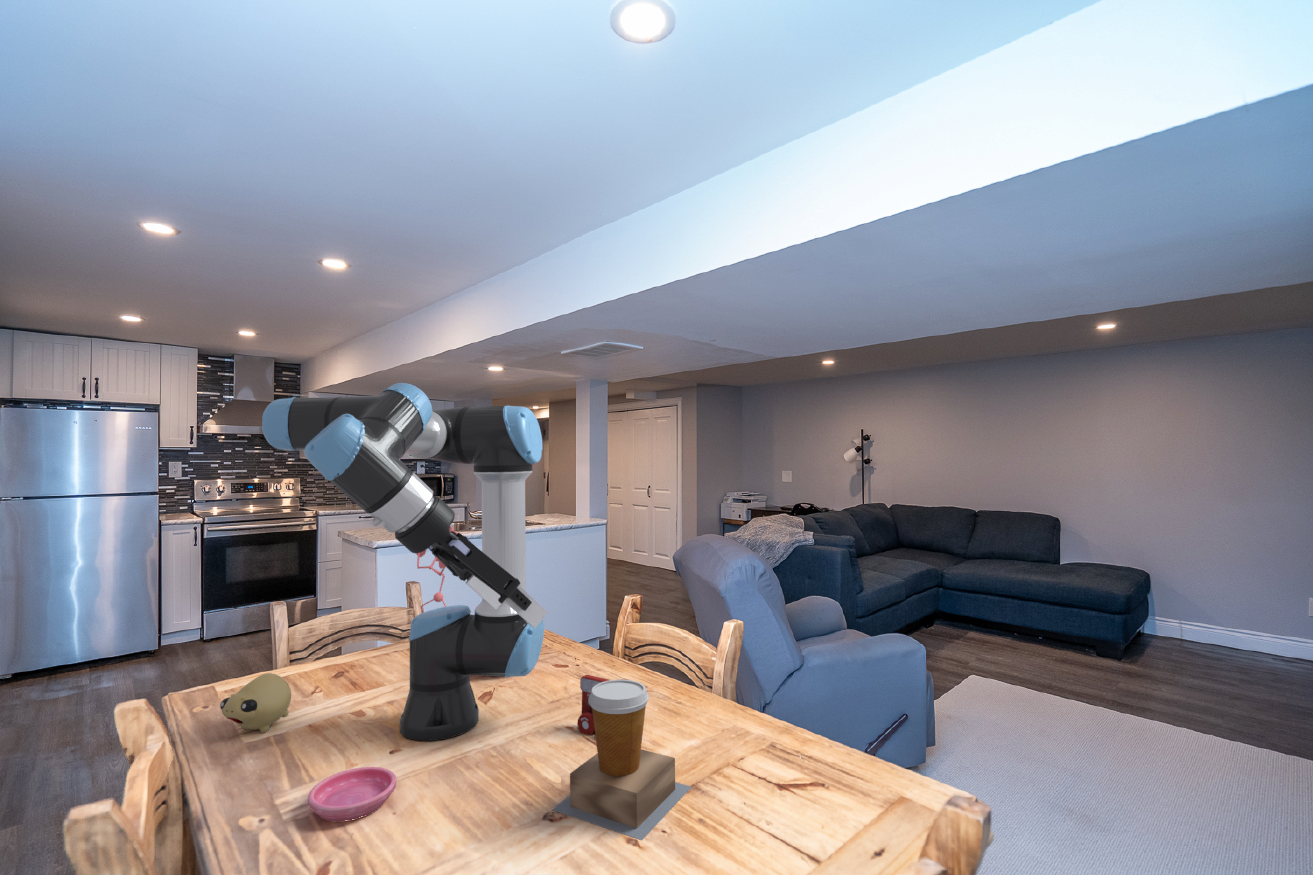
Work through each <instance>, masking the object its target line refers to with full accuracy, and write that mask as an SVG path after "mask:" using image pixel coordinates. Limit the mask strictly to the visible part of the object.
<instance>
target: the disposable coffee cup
mask: <svg viewBox="0 0 1313 875" xmlns="http://www.w3.org/2000/svg"><path fill="white" fill-rule="evenodd" d="M608 680H609V681H605V682H601V683H599V684H597V685H595V686H594V687H593V688H592V691H591V695H590V696H589V702H590V705H591V707H592V712H593V720H594V728H595V732H594V734H595V742H596V750H597V753H598V760H599V768H600V770H601V771H602V772H603V773H605V774H608V775H612V776H624V775H628V774H631V773H633V772H635V771H636V770H637V769H638V768H639V763H640V753H641V749H642V743H643V733H644V726H645V717H646V716H645V715H646V707H647V704H648V701H649V697H650V695H649V693H648V692H647V689H646V686H645V685H644V683H641V682H639V681H636V680H631V679H608Z"/></svg>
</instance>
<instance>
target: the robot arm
mask: <svg viewBox="0 0 1313 875" xmlns="http://www.w3.org/2000/svg"><path fill="white" fill-rule="evenodd" d="M261 420H262V421H261V424H262V426H261V431H262V434H263V436H264V438H265V440H266V441H267V443H268V444H269V445H270V446H272V448H275V449H277V450H282V451H283V450H284V451H293V452H299V451H303V454H304V456H305V458H306V460H307V461H308V462H309V463H310V464H311V465H312V466H313V467H314V468H315V469H316V470H317V471H318V472H319V473H320V474H321V475H322V476H323V478H325V479H326V481H329V482H330V483H331V484H332V485H334V486H335V487H336V488H337V489H338V490H340V491H341V492H342V493H343V494H344V495H345V496H347V498H349V499H350V500H351V501H353V503H355V504H356V505H357V506H358V507H360V508H361V509H362V510H363V511H364V512H366V513H367V514H368V515H369V516H370V517H374V518H373V519H372V520H371V525H372V526H374V527H377V526H379V525H381V527H383V528H384V529H385V530H386V531H388V533H391V534H394V537H395V539H396V541H398V542H399V543H400V544H401V545H403V546H404V547H405V548H406V549H407V550H408V551H409V552H410V553H412V554H416V553H420V552H423V551H425V550H426V551H427V550H429V551H430V552H431V553H432V555H433V556H434V558H435V557H437V558H438V559H439V560H440V561H441V562H442V563H443V564H444V565H445V566H446V567H445V568H447V569H448V571H450V572H451V575H453V576H454V577H457V578H459V580H460V581H463V582H465V584H466V585H467V586H468V587H469V588H470V589H471V590H473V591H474V592H475V593H476V594H477V595H478V596H479V597H480V598H481V599H482V601H481V602H480V603H479V604H478V605H477V606H476V607H475V608H474V614H471V613H472V610H471V609H470V606H468V605H463V604H461V605H460V604H458V605H457V604H456V605H449V606H448V605H447V606H446V607H445V606H443V607H439V608H434V609H431V610H427V611H423V613H422V612H420V613H419V614H417V615H416V616H415V617H413V618H412V620H411V622H410V626H409V638H408V641H409V689H408V690H409V691H408V695H407V698H406V701H405V705H404V708H403V712H402V713H401V716H400V721H399V731H400V734H401V735H402V736H403V737H404V738H407V739H409V740H414V741H422V742H423V741H426V742H427V741H428V742H429V741H439V740H445V739H449V738H454V737H457V736H459V735H462V734H464V733H466V732H468V731H471V730H472V729H473V728H474V727H475V726H477V724H478V722H479V718H480V716H479V713H480V712H479V705H478V704H477V701H476V697H475V694H474V690H473V688H472V685H471V677H470V676H488V677H489V676H490V677H503V678H507V679H508V678H510V677H512V678H513V677H525V676H528V675H529V674H530V673H532V671H533V670H534V669H535V667H536V665H537V663H538V661H539V658H540V655H541V651H542V648H543V644H544V638H545V637H544V636H545V624H544V620H543V619H544V618H545V617H546V615H547V614H548V610H546V609H545V608H544V607H543V606H542V605H541V604H540V603H539V602H538V601H536V599H535V598H534V597H532V596H531V594H529V593H528V592H527V567H526V566H527V564H526V562H527V561H526V560H527V557H526V550H527V549H526V548H527V547H526V543H527V541H526V538H527V537H526V480H527V478H528V477H530V475H532V473H533V465H536V464H537V463H540V461H541V459H542V452H543V437H542V436H543V435H542V432H541V431H542V430H541V428H540V424H539V421H538V419H537V417H536V416H535V414H534V413H533V411H532V410H531V409H530V408H528V407H526V406H518V405H510V404H509V405H499V406H498V405H497V406H495V405H493V406H472V407H471V406H470V407H469V406H460V407H448V408H441V409H440V408H439V409H433V406H432V403H431V401H430V398H429V397H428V395H426V393H425V392H424V391H423V390H422V389H420V388H419V387H417V386H415V385H413V384H410V383H407V382H397V383H394V384H392V385H390V386H389V387H386V388H385V389H384V390H383V391H381V393H380V394H379V395H359V396H358V395H356V396H353V395H352V396H337V397H333V396H332V397H329V396H328V397H327V396H326V397H297V396H292V397H289V398H279V399H278V398H277V399H275V400H273V401H271V402H270V403H269V404H268V405H267V406H266V408H265V409H264V411H263V412H262V417H261ZM405 454H408V455H409V456H411V457H413V458H416V459H421V460H432V461H439V462H446V463H452V464H462V465H473V475H475V476H476V477H477V478H478V480H480V482H481V549H480V548H478V547H477V545H474V543H472V541H470V540H469V539H468V537H467V536H465V535H463V534H462V533H460V532H457V534H456V533H455V532H453V531H454V530H453V531H451V532H450V531H449V529H450V526H452V524H453V522H454V520H455V517H456V515H455V512H454V510H453V508H451V507H450V506H449V505H448V504H447V503H445V501H443V500H442V499H441V497H440V496H435V495H434V490H433V489H431V488H430V487H429V486H428V485H427V483H425V482H424V481H423V480H422V479H421V478H420V477H419V476H418V475H417V474H416V473H415V472H414V471H413V470H411V469H410V468H409V467H408V466H407V465H406V464H405V463H404V462H403V461H402V460H401V459H402V458H403V456H404V455H405Z"/></svg>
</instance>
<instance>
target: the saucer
mask: <svg viewBox="0 0 1313 875" xmlns="http://www.w3.org/2000/svg"><path fill="white" fill-rule="evenodd" d="M396 787H397V775H396V774H395V773H394V772H393V771H391V770H390V769H388V768H384V767H378V766H365V767H364V766H363V767H356V768H350V769H346V770H343V771H342V770H341V771H340V772H336V773H335V774H332V775H330V776H328V777H326V778H324V779H323V780H321V781H319V782H318V783H316V785H314V786H313V787H312V788H311V789H310V791H309V793H308V796H307V804H308V806H309V808H310V810H312V811H313V812H314V813H315V814H316V815H318V816H319V817H320V818H321V817H322V818H321V819H323V820H324V819H325V820H324V821H327V820H328V821H327V822H331V821H345V820H351V821H353V820H352V819H356V818H359V817H361V816H364V817H366V816H365V815H367V816H369V815H370V813H371V814H372V812H373V813H375V812H376V811H378V810H379V809H380V808H381V807H382V806H383V805H384V804H385V802H386V801H387V800H388V799H389V798H390V796H391V795H392V794H393V792H394V791H395V789H396ZM378 808H379V809H378ZM375 810H376V811H375ZM368 814H369V815H368ZM359 819H360V818H359ZM356 820H357V819H356ZM345 822H346V821H345Z"/></svg>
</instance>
